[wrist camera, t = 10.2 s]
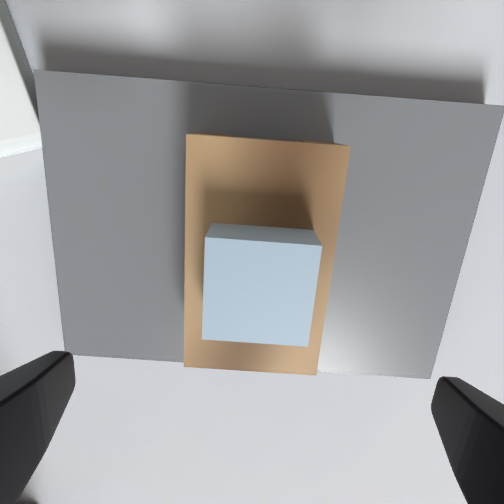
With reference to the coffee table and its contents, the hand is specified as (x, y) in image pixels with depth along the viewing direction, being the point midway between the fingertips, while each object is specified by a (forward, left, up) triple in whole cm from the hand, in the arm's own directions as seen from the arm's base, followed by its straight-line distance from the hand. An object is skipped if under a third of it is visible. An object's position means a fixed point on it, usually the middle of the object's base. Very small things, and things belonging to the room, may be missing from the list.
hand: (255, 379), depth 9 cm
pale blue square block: (0, 0, -6) cm, 6 cm away
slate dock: (0, 0, -11) cm, 11 cm away
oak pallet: (0, 0, -9) cm, 9 cm away
